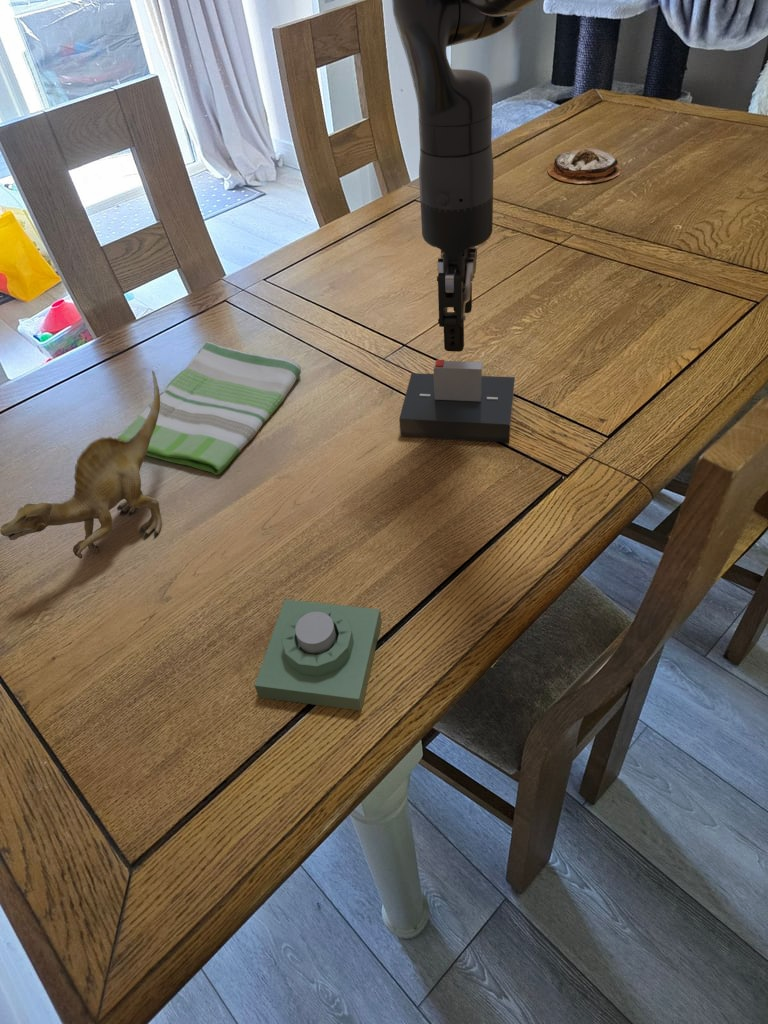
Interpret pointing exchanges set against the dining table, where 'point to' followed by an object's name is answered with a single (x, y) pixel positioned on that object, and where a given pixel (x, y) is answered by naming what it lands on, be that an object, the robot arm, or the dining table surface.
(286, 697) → the button block
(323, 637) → the button
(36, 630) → the dining table surface
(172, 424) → the dish towel
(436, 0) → the robot arm
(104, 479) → the dinosaur figurine
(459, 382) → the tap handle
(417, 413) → the lever base
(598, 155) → the powdered cake
